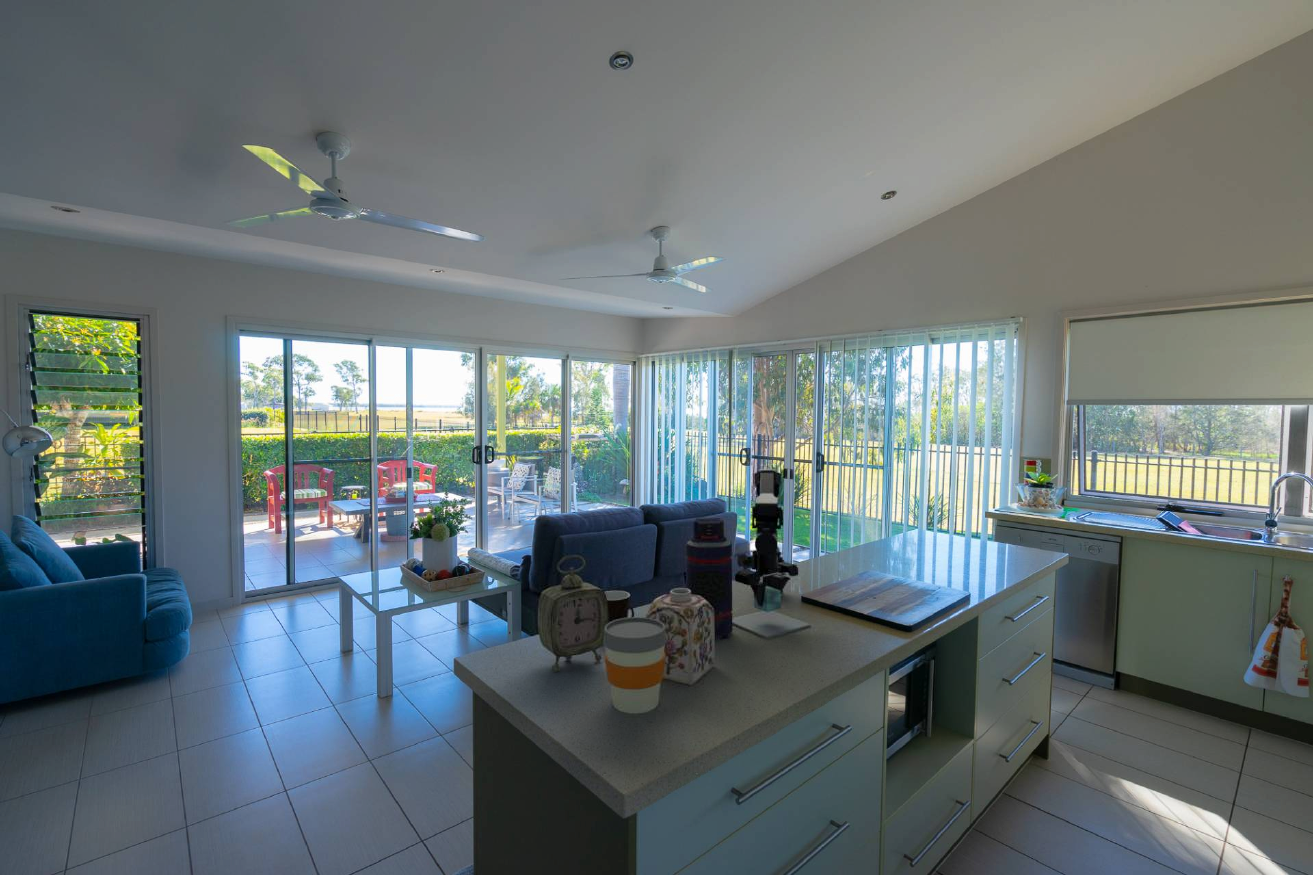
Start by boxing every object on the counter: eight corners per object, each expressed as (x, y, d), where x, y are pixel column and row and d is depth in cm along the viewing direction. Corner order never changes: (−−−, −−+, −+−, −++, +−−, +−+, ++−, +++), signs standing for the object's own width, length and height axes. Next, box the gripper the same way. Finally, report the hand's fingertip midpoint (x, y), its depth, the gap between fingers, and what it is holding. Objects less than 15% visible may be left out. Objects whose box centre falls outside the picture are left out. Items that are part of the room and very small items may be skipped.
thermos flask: (735, 642, 147) (734, 523, 146) (687, 642, 147) (686, 523, 146) (729, 623, 160) (728, 514, 160) (686, 624, 161) (684, 515, 160)
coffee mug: (594, 629, 157) (594, 592, 157) (625, 625, 160) (625, 589, 160) (604, 644, 146) (603, 605, 146) (637, 640, 149) (636, 601, 149)
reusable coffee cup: (594, 696, 118) (593, 623, 118) (649, 683, 124) (648, 613, 124) (619, 724, 107) (618, 643, 107) (679, 708, 113) (678, 631, 112)
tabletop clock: (550, 677, 128) (549, 563, 127) (535, 663, 135) (533, 555, 135) (609, 661, 136) (607, 554, 135) (591, 649, 143) (589, 547, 143)
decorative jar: (716, 666, 132) (715, 587, 132) (693, 687, 122) (692, 601, 122) (670, 656, 138) (669, 581, 138) (644, 675, 128) (643, 593, 128)
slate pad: (768, 611, 171) (768, 609, 171) (810, 626, 157) (810, 624, 157) (726, 621, 162) (726, 619, 162) (766, 639, 149) (766, 636, 149)
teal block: (767, 604, 163) (767, 586, 163) (780, 608, 159) (780, 590, 159) (754, 607, 160) (754, 589, 160) (767, 612, 156) (767, 593, 156)
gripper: (770, 538, 171) (771, 591, 171) (721, 546, 161) (721, 603, 161) (799, 545, 162) (799, 601, 162) (749, 554, 152) (749, 614, 152)
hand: (767, 604), depth 160 cm, fingers closed on teal block, 5 cm apart
